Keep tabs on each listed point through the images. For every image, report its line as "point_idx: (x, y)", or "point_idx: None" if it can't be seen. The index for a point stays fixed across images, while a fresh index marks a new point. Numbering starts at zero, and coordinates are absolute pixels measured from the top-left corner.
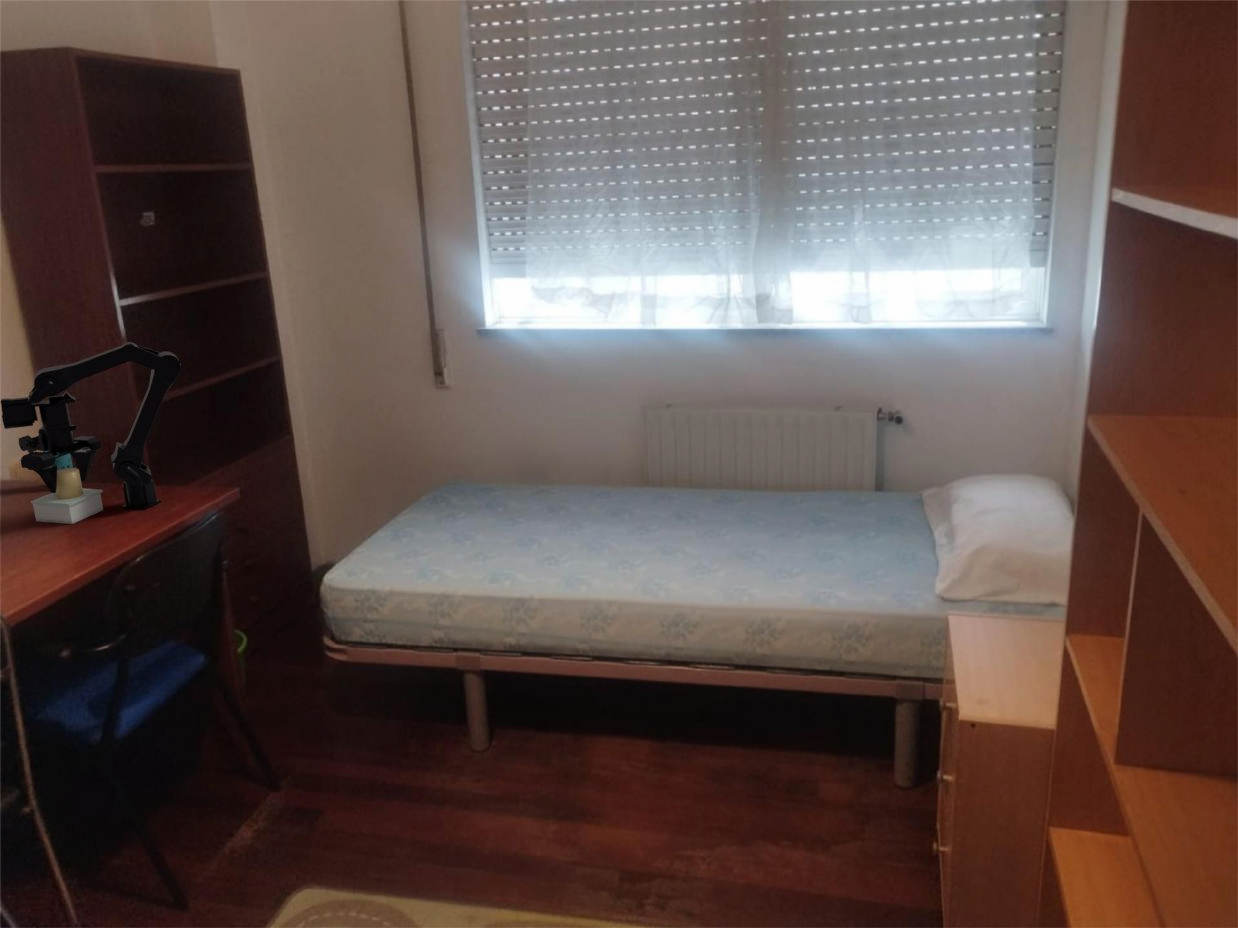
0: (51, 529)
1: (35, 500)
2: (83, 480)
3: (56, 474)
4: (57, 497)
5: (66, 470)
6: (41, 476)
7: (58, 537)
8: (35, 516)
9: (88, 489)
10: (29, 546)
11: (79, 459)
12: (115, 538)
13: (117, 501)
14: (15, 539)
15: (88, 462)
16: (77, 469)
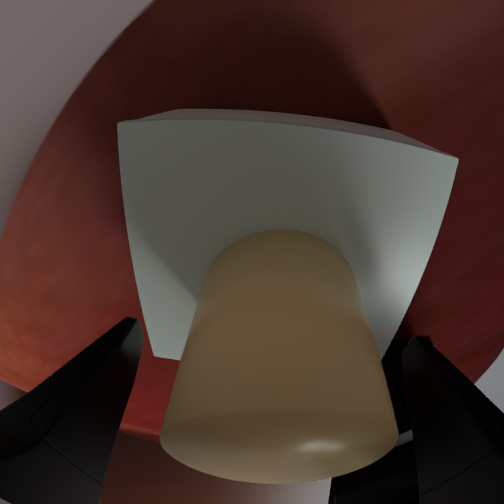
0: (117, 250)
1: (137, 142)
2: (403, 356)
3: (99, 474)
4: (212, 264)
5: (308, 456)
6: (25, 407)
7: (85, 312)
8: (169, 111)
9: (393, 319)
10: (23, 279)
11: (467, 478)
12: (141, 406)
13: (443, 285)
14: (25, 202)
15: (421, 485)
16: (334, 474)
